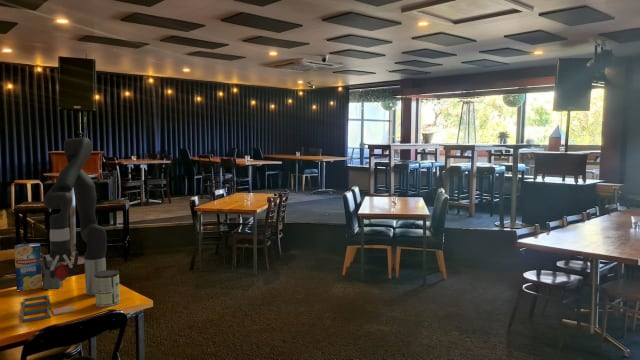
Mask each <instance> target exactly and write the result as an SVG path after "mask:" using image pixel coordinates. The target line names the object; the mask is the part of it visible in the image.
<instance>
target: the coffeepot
mask: <svg viewBox="0 0 640 360" xmlns="http://www.w3.org/2000/svg"><path fill="white" fill-rule="evenodd" d="M49 254H50V252H49V253H48V255H49ZM52 261H53V259H52V258H51V257H49V258H48V260H47V264H48V266H51V264H52ZM69 261H70V262H71V261H72V258H71V256H70V257H69ZM37 262H38V263H39V264H40V265H41V269H42V271H43V272H42V273H43V278H42V288H43V289H42V290H44V289H47V290H46V291H49V290H48V289H54V290H58V289H60V287H61V288H62V287H63V286H64V283H63V281H60V280H59V279H57V278H56V277H55V276H54V279H52V278H51V277H50V270H46V269H45V266H44V262H43V258H42V257H41V259H39V260H37ZM60 263H62V262H60ZM60 263H56V265H55V267H54V270H55V268H56V267H57V266H59V264H60ZM71 263H72V262H71ZM65 266H66V267H68V269H69V265H68V264H67V263H66V265H65ZM57 288H58V289H57Z"/></svg>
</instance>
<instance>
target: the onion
mask: <svg viewBox="0 0 640 360" xmlns="http://www.w3.org/2000/svg"><path fill="white" fill-rule="evenodd" d="M54 276H55V277H56V278H57V279H59V280H60V281H62V282H63V281H65V280H66V279H67V278H68V276H69V268H68V267H66V265H65V264H64V263H63V262H61V263H60V264H59V266H57V267H56V268H55V270H54Z"/></svg>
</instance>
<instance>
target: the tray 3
mask: <svg viewBox="0 0 640 360" xmlns="http://www.w3.org/2000/svg"><path fill="white" fill-rule="evenodd" d="M45 308H46V307H45ZM39 309H40V308H39ZM33 310H34V309H33ZM27 311H28V310H27ZM50 311H51V310H49V308H46V309H40V310H34V311H28V312H23V311H22V312H21V321H22V323H27V322H29V323H30V322H34V321H39V320H44V319H50V318H51V316H52V315H51V312H50ZM45 312H46V313H47V314H45V315H38V316H33V317H27V318H25V316H30V315H34V314H40V313H45Z"/></svg>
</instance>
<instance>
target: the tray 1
mask: <svg viewBox="0 0 640 360" xmlns="http://www.w3.org/2000/svg"><path fill="white" fill-rule="evenodd" d="M36 299H37V300H43V299H46V300H43V301H37V300H36ZM29 300H31V301H35V302H30V301H29ZM47 301H48V302H49V304H50V303H51V301H50V297H49V294H45V295H39V296H33V297H26V298H23V300H22V303H23V305H28V304H34V303H40V302H47ZM26 302H30V303H26Z"/></svg>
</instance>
